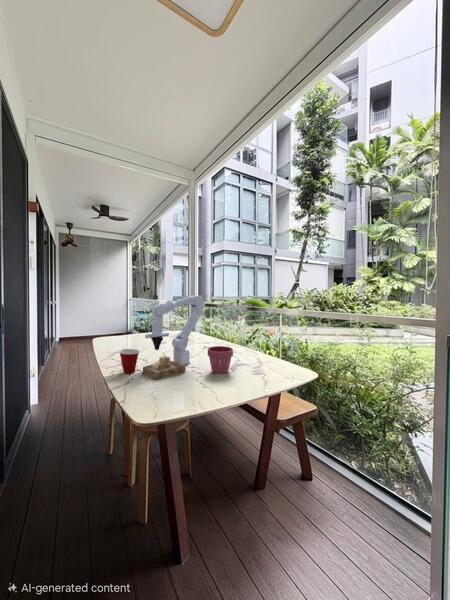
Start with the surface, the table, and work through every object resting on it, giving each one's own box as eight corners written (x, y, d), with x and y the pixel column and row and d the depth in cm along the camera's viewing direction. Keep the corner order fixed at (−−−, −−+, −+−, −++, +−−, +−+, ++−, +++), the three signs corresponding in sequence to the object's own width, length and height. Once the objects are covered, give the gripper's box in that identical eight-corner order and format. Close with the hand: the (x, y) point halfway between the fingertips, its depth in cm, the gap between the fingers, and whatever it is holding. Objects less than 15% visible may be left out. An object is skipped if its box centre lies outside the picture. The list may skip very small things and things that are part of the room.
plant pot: (230, 376, 138) (231, 352, 138) (204, 374, 141) (205, 350, 140) (234, 368, 152) (234, 346, 152) (210, 367, 155) (210, 345, 154)
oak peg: (165, 370, 146) (165, 355, 146) (170, 371, 144) (170, 357, 143) (159, 371, 143) (159, 357, 143) (163, 373, 141) (163, 358, 140)
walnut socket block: (170, 366, 155) (170, 360, 155) (185, 371, 145) (185, 365, 145) (142, 373, 142) (142, 366, 142) (157, 379, 132) (157, 372, 132)
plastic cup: (135, 375, 138) (135, 352, 138) (115, 375, 139) (115, 352, 138) (142, 369, 149) (142, 348, 149) (123, 369, 149) (123, 348, 149)
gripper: (150, 327, 144) (149, 352, 145) (172, 326, 155) (171, 349, 155) (143, 326, 149) (142, 350, 149) (165, 325, 160) (164, 347, 160)
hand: (156, 349), depth 153 cm, fingers closed
